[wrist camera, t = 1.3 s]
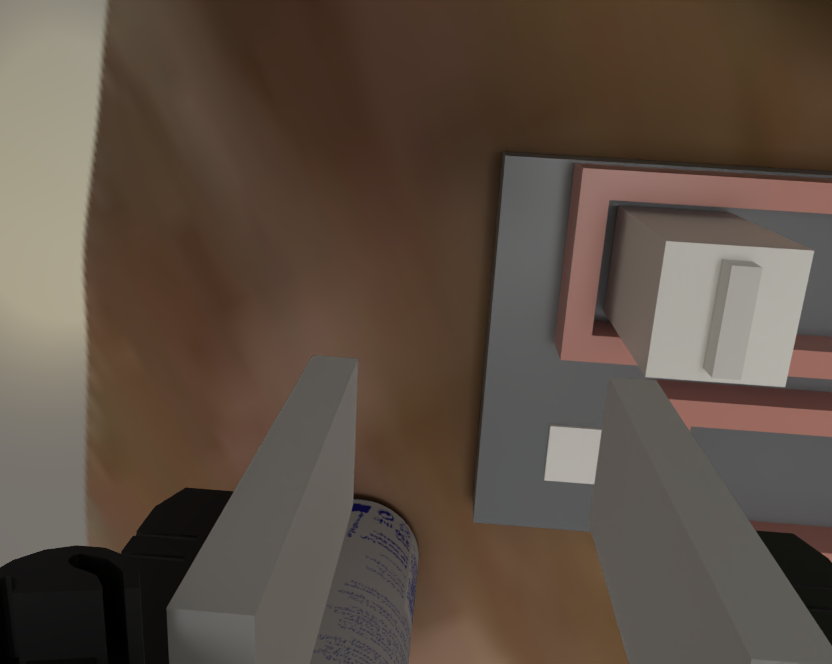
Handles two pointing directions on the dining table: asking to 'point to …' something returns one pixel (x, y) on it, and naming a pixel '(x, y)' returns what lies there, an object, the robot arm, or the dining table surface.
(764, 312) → the tab inner
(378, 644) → the beverage can
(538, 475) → the switch bank
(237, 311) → the dining table surface
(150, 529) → the robot arm
